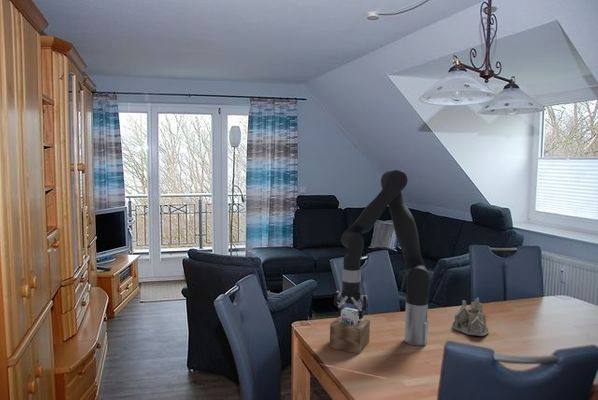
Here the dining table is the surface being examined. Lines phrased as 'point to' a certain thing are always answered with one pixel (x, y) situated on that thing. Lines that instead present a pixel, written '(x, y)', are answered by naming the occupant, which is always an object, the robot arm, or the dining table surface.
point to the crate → (349, 335)
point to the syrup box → (349, 316)
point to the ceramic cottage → (471, 319)
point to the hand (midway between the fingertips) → (350, 317)
